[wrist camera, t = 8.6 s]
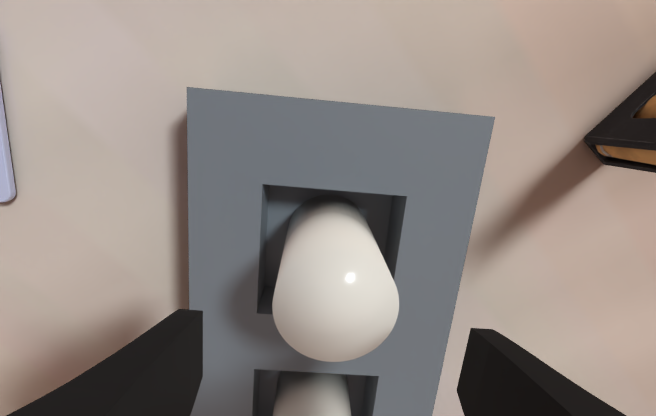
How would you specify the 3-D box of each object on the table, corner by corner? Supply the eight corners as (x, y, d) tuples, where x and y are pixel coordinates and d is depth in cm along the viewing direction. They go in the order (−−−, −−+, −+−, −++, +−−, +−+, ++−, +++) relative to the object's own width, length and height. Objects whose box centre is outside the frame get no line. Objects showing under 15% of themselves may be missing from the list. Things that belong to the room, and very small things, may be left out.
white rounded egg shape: (286, 269, 19) (271, 360, 12) (288, 193, 18) (272, 245, 11) (364, 272, 19) (392, 363, 12) (371, 196, 18) (405, 250, 11)
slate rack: (207, 461, 23) (156, 627, 16) (208, 89, 17) (128, 80, 10) (398, 469, 23) (434, 632, 16) (465, 114, 17) (570, 123, 10)
